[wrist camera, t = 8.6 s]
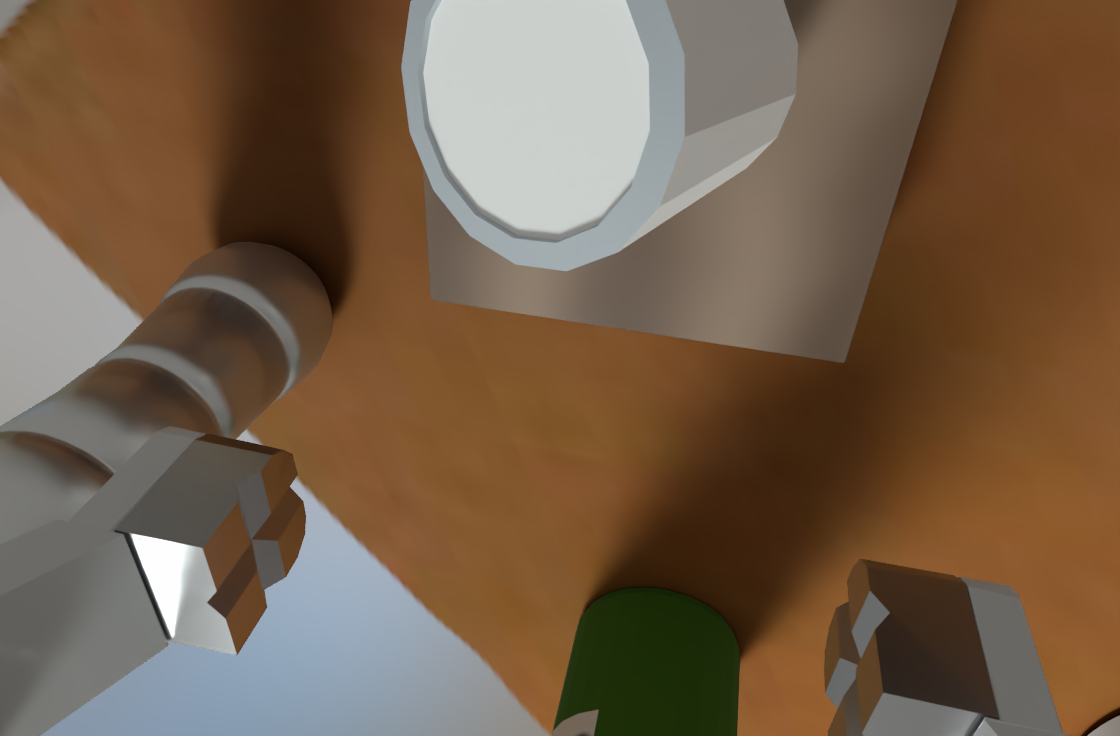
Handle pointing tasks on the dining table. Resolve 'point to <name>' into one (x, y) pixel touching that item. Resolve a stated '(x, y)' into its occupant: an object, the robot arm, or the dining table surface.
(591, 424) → the dining table surface
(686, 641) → the wine bottle
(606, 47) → the white cup
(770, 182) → the block
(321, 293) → the plastic bottle
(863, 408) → the dining table surface
